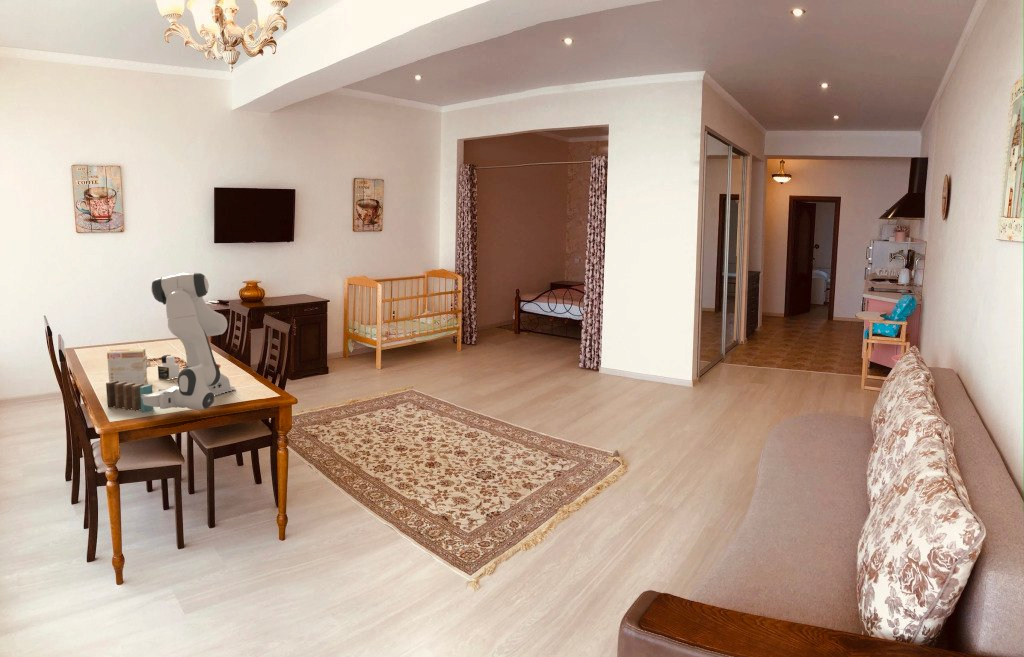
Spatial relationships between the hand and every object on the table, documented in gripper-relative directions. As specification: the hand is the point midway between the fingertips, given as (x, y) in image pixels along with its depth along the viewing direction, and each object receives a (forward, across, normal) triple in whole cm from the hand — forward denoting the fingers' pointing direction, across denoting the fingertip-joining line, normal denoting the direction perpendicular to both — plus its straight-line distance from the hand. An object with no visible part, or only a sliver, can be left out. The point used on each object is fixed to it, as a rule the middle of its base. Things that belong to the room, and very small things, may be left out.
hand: (151, 393), depth 288 cm
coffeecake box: (+36, -23, +8) cm, 43 cm away
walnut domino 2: (+12, 0, +8) cm, 14 cm away
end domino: (+21, 0, +8) cm, 22 cm away
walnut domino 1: (+16, 0, +8) cm, 18 cm away
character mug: (+43, -38, +8) cm, 58 cm away
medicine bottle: (+36, -49, +8) cm, 61 cm away
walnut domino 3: (+7, 0, +8) cm, 11 cm away
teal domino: (+3, 0, +8) cm, 8 cm away
